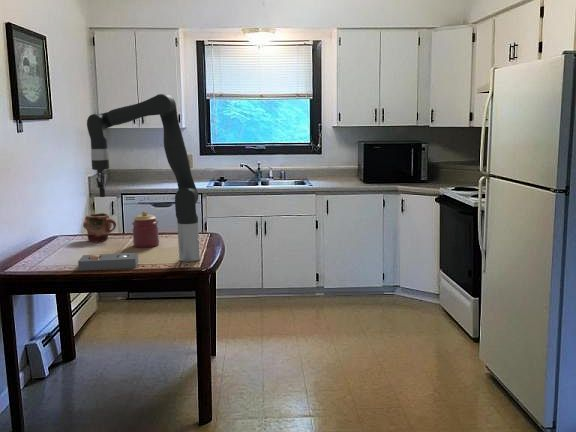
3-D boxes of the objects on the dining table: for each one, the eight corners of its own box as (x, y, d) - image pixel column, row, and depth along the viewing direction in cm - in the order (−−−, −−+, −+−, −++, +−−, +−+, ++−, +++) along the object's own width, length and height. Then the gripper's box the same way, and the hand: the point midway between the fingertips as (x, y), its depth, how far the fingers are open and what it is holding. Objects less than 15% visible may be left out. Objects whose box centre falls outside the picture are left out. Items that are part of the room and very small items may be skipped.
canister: (161, 246, 310) (159, 212, 307) (135, 249, 306) (133, 214, 303) (157, 241, 322) (155, 208, 319) (131, 244, 317) (129, 210, 314)
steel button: (128, 261, 276) (127, 255, 275) (127, 263, 272) (126, 257, 271) (119, 262, 275) (118, 255, 275) (118, 264, 271) (117, 257, 271)
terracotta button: (100, 261, 274) (100, 254, 274) (99, 263, 270) (98, 256, 270) (91, 261, 273) (90, 254, 273) (89, 263, 270) (89, 257, 269)
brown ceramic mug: (123, 238, 331) (122, 213, 329) (111, 243, 320) (110, 217, 317) (90, 237, 336) (88, 212, 334) (77, 242, 324) (75, 216, 322)
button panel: (138, 261, 281) (137, 252, 280) (135, 267, 269) (135, 258, 268) (83, 263, 277) (83, 255, 276) (78, 270, 265) (78, 261, 265)
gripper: (106, 159, 272) (109, 198, 275) (110, 157, 285) (113, 194, 288) (89, 160, 271) (91, 199, 274) (93, 158, 284) (96, 195, 287)
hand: (102, 196), depth 281 cm, fingers closed
